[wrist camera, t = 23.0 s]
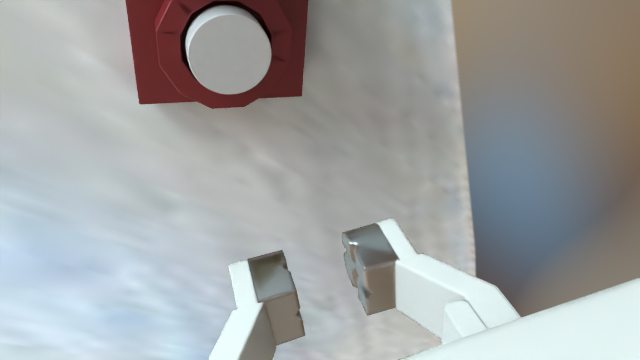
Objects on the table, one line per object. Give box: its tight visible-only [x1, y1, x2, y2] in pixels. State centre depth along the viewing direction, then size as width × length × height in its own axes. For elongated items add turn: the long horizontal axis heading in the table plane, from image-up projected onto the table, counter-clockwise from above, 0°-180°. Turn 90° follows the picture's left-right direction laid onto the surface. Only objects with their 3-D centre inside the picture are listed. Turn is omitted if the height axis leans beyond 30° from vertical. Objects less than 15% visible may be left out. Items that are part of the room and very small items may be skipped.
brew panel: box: [126, 0, 308, 109], centre depth 29 cm, size 8×10×4 cm
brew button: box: [185, 5, 272, 94], centre depth 27 cm, size 4×4×2 cm
